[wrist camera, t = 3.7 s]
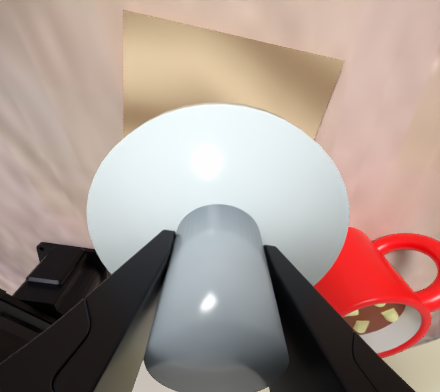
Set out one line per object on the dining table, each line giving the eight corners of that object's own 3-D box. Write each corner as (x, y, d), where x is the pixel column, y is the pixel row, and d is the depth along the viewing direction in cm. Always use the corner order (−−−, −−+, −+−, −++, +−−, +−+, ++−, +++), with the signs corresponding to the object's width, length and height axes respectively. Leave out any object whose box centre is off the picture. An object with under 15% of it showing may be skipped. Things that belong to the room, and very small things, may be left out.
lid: (293, 312, 12) (333, 452, 8) (104, 290, 11) (34, 432, 7) (386, 131, 7) (604, 222, 3) (85, 74, 7) (-143, 96, 2)
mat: (277, 228, 23) (278, 231, 22) (126, 204, 21) (124, 207, 21) (341, 61, 16) (344, 60, 15) (125, 11, 15) (123, 9, 14)
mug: (424, 243, 24) (508, 317, 17) (314, 293, 27) (346, 371, 20) (399, 187, 21) (488, 250, 14) (278, 252, 24) (301, 327, 17)
